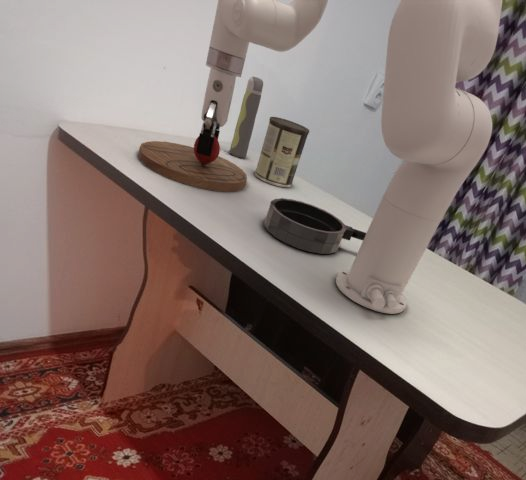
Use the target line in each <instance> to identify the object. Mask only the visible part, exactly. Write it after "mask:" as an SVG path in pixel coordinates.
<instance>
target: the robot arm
mask: <svg viewBox="0 0 526 480" xmlns="http://www.w3.org/2000/svg"><path fill="white" fill-rule="evenodd" d="M328 2H329V0H292V1H291V2H289V4H285V3H283V2H281V1H280V0H218V1H217V6H216V10H215V16H214V21H213V25H212V31H211V36H210V41H209V47H208V51H207V56H206V61H205V66H207V67H209V68H210V69H209V74H208V79H207V83H206V89H205V93H204V100H203V104H202V111H201V120H202V121H203V122H202V125H201V129H200V132H199V135H198V137H199V140H198V145H197V149H196V152H197V153H199V154H202V155H205V156H208V157H210V156H211V152H212V148H213V143H214V139H215V138H214V135H215V136H216V138H217V140H218V141H219V137H220V136H219V135H220V132H221V131H220V128H222V127H224V126H225V125H226V124H227V122H228V119H229V114H230V110H231V105H232V100H233V95H234V91H235V86H236V81H237V79H236V78H242V75H243V71H244V66H245V62H246V57H247V53H248V49H249V45H250V43H251V44H254V45H257V46H261V47H264V48H266V49H270V50H273V51H275V52H279V53H283V52H288V51H290V50H292V49H293V48H295V47H296V46H298V45H299V44H300V43H301V42H302V41H303V40H304V39H306V38H307V36H309V35H310V34H311V32H313V31H314V29H316V27H317V26H318V24H319V23H320V21H321V19H322V17H323V15H324V13H325V11H326V8H327V5H328ZM502 7H503V0H400V1H399V3H398V5H397V7H396V9H395V11H394V14H393V16H392V20H391V24H390V27H389V31H388V37H387V44H386V45H387V47H386V57H385V68H384V69H385V70H384V79H383V80H384V82H383V92H382V104H381V105H382V106H381V119H380V121H381V133H382V137H383V141H384V145H385V146H386V148H387V149H388V151H389V152H390V153H391V154H392V155H394V156H395V157H396V158H398V159H400V160H403V161H402V162H401V163H400V165H399V166H398V168H397V169H396V171H395V173H394V174H393V176H392V177H391V179H390V181H389V183H388V185H387V187H386V190H385V191H384V193H383V195H382V198H381V200H380V201H379V204H378V207H377V209H376V211H375V213H374V215H373V218H372V220H371V222H370V224H369V226H368V229H367V231H366V232H365V233H366V235H365V238H364V240H362V242H361V244H360V247H359V249H358V251H357V253H356V255H355V258H354V259H353V262H352V265H351V266H350V269H345V270H342V271H339V272H338V274H337V276H336V278H335V284H336V287H337V288H338V289H339V291H340V293H342V294H343V295H345V296H346V297H347V298H348V299H350V301H351V300H352V302H354V303H356V304H357V305H360V306H362V307H364V308H366V309H369V310H371V311H374V312H378V313H383V314H388V315H389V314H390V315H395V314H399V313H402V312H404V311H405V309H406V307H407V305H408V301H407V297H406V296H405V295H404V294H403V292H404V291H405V289H406V287H407V285H408V283H409V282H410V280H411V278H412V276H413V274H414V272H415V270H416V268H417V266H419V265H418V264H419V263H420V261H421V259H422V257H423V255H424V254H425V251H426V250H427V247H428V246H429V244H430V242H431V241H432V239H433V237H434V236H435V235H434V234H435V233H436V231H437V229H438V227H439V225H440V224H441V222H442V221H443V219H444V216H445V215H446V213H447V211H448V209H449V208H450V205H451V203H452V202H453V201H454V198H455V197H456V195H457V193H458V191H459V190H460V189H461V186H462V185H463V184H464V182H465V181H466V180H467V178H468V177H469V176H470V174H471V173H472V171H473V170H474V168H475V167H476V166H477V165H478V163H479V161H480V160H481V158H482V157H483V156H484V154H485V152H486V150H487V148H488V146H489V144H490V140H491V137H492V132H493V118H492V114H491V112H490V110H489V108H488V106H487V105H486V103H485V102H484V101H483V100H482V99H481V98H479V97H477V96H476V95H475V94H472V93H470V92H468V91H465V90H463V89H461V88H458V87H456V85H457V83H460V82H461V83H462V82H466V81H471V80H472V79H475V78H476V77H477V76H479V75H480V74H481V73H482V72H483V71H484V70H485V69H486V68H487V66H488V65H489V63H490V62H491V60H492V58H493V55H494V53H495V50H496V46H497V41H498V37H499V31H500V30H499V29H500V22H501V14H502Z"/></svg>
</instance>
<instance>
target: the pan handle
mask: <svg viewBox="0 0 526 480" xmlns="http://www.w3.org/2000/svg"><path fill="white" fill-rule="evenodd" d="M345 226H346V227H345V229H347V230H346V232H345V234H344V237H343V239H342V240H346V241H349V242H350V241H351V240H352V238H353V239H357V240H360V241H363V240H364V238H365V235H366V233H367V232H365V231H362V230H358V229H356V228H353V227H352V226H349V225H346V224H345Z"/></svg>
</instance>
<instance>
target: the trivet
mask: <svg viewBox="0 0 526 480" xmlns="http://www.w3.org/2000/svg"><path fill="white" fill-rule="evenodd" d="M137 157H138V158H139V161H140V163H142V164H143V165H144V166H145V167H146V168H148V169H150V170H151V171H153V172H154V173H156V174H159V175H161V176H162V177H165V178H167V179H170V180H172V181H175V182H178V183H181V184H183V185H187V186H191V187H194V188H197V189H203V190H208V191H213V192H223V193H230V192H238V191H241V190H243V189H245V188H246V184H247V181H248V176H247V173H246V172H245V171H244V170H243V169H242V168H241V167H240V166H238V165H236V164H235V163H233V162H231V161H230V160H228V159H226V158H224V157H221V156H219V155H218V157H217V159H216V160H214V161H213V162H211V163H209V164H207V165H202V164H201V163H200V162H199V161H198V159H197V158H196V156H195V153H194V146H189V145H186V144H180V143H175V142H169V141H159V140H153V141H152V140H151V141H146V142H143V143H141V144H140V146H139V148H138V156H137Z"/></svg>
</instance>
